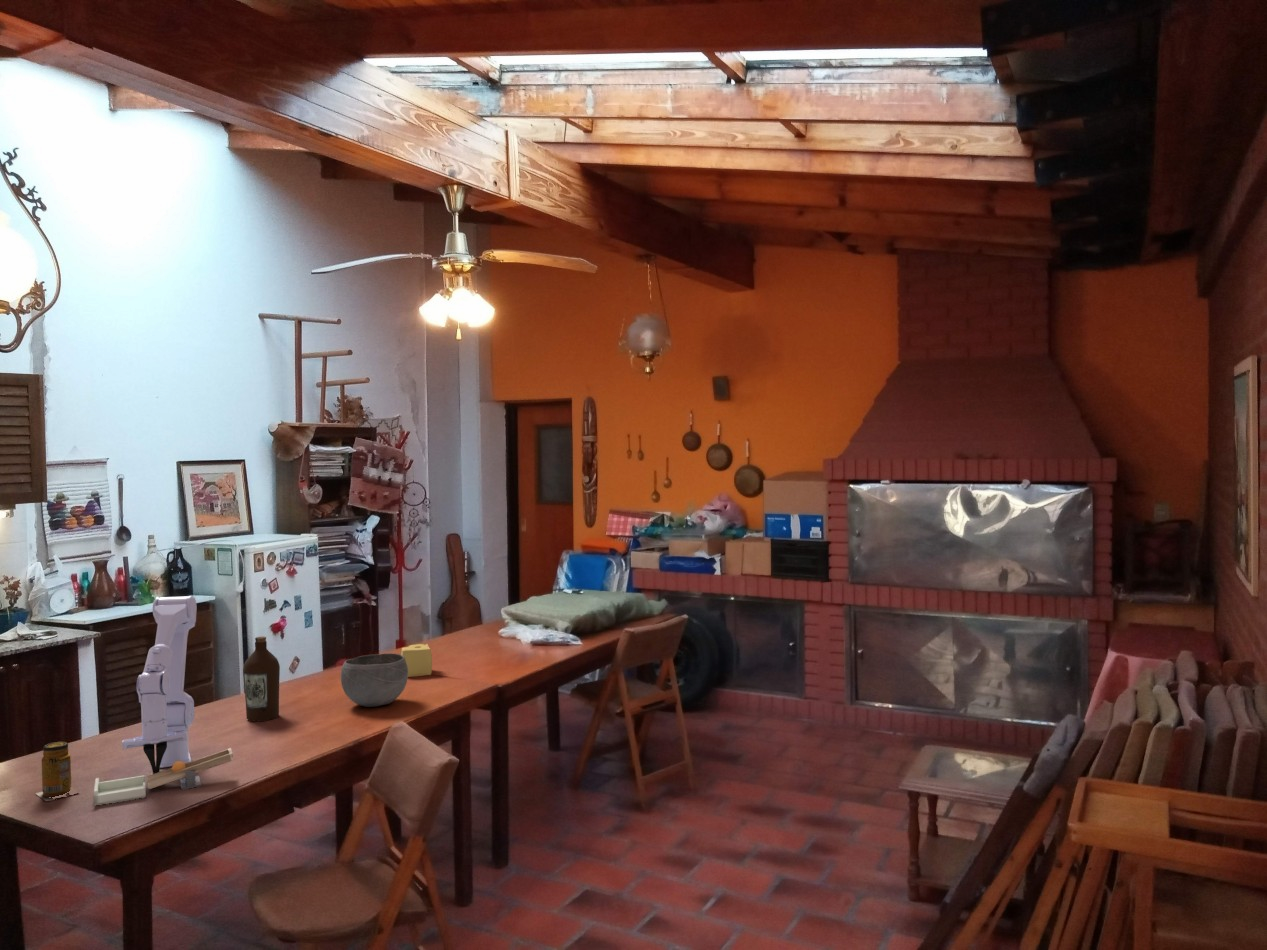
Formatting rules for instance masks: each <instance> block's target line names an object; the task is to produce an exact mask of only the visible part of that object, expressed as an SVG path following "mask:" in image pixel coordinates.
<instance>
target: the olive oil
mask: <svg viewBox="0 0 1267 950" xmlns="http://www.w3.org/2000/svg"><path fill="white" fill-rule="evenodd" d="M254 640H255V641H254V648H255V649H254V651H253V652H252V653H251V654H250V655H249V657H247V658H246V660H245V662H244V665H243V667H242V668H243V669H242V674H243V684H244V696H245V713H246V720H247V719H248V720H247V721H249V720H251V721H250V722H265V721H264V720H266V721H271V720H274V719H276V717H277V718H278V717H279V715H280V675H281V674H280V673H281V672H280V670H281V669H280V668H281V667H280V663H279V660H278V658H277V657H276V656H275V655H274V654H273V653H272V652H271V651H269V649H268V647H267V646H268V643H267V636H257V637H255V638H254ZM270 719H271V720H270Z"/></svg>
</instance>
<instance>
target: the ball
mask: <svg viewBox="0 0 1267 950" xmlns="http://www.w3.org/2000/svg"><path fill="white" fill-rule="evenodd" d="M171 768H172V770H173V772H177V771H180V770H182V769H185V764H184V762H182V761H177V762H175V763H174V764H173V766H171Z"/></svg>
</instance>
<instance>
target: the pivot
mask: <svg viewBox="0 0 1267 950" xmlns="http://www.w3.org/2000/svg"><path fill="white" fill-rule="evenodd" d="M179 781H180V789H185V790H189V788H191V789H195V788H194V787H197V788H201V787H202V783H201V777H200V775H196V773H195V770H190V771H186V777H183V778H180V779H179Z"/></svg>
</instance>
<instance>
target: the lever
mask: <svg viewBox="0 0 1267 950" xmlns="http://www.w3.org/2000/svg"><path fill="white" fill-rule="evenodd" d="M234 760H235V758H234V754H233V751H232V747H229V748H227V749H224V750H220V751H218V752H215V753H212V754H208V755H206V756H203V757H198V758H196V759H194V760H191V762H188V763H185V769H182V770H180V771H177V772H173V770H172V767H171V768H168V769H159V772H158V773H155V774H153V772H151V773H149V774H148V775H147V776H146V780H147V781H146V783H147V788H148V790H151V789H153V788H157V787H160V786H163V785H166V784H168V783H171V782H174V781H179V780H180V779H182V778H185V777H186V771H190V770H195V774H197V773H201V772H203V771H206V770H209V769H212V768H215V767H218V766H221V765H223V764H226V763H229V762H232V761H234Z"/></svg>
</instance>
